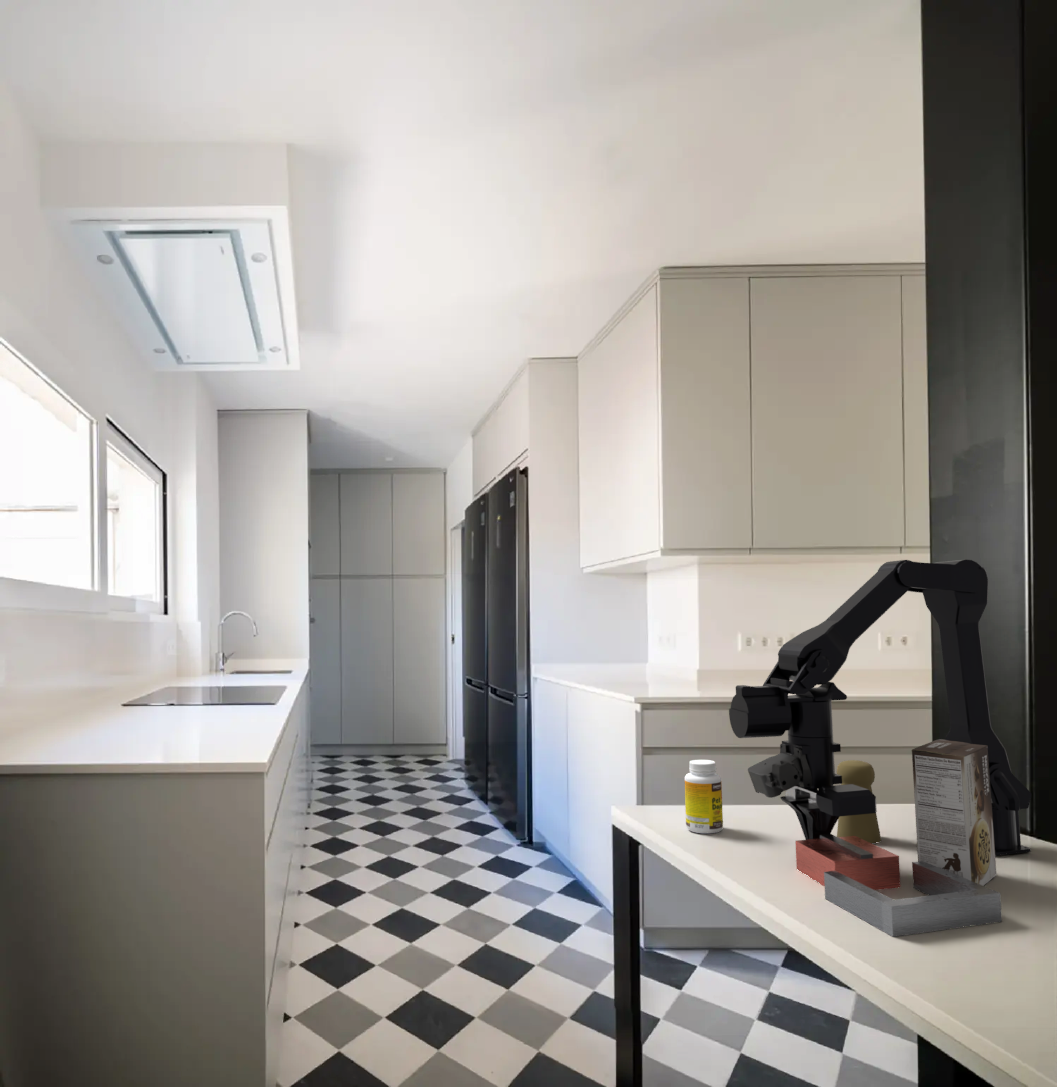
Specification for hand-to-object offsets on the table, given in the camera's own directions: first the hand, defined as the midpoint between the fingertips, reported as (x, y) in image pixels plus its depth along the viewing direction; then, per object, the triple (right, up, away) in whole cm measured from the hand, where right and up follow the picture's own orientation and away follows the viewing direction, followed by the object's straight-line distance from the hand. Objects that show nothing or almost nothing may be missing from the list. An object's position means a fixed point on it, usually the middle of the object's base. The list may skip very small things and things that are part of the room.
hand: (815, 854), depth 107 cm
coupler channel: (+4, 0, -16) cm, 17 cm away
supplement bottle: (-11, -3, +17) cm, 20 cm away
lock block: (+2, -1, -6) cm, 7 cm away
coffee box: (+15, 0, -7) cm, 17 cm away
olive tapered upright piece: (+10, -2, +11) cm, 15 cm away
